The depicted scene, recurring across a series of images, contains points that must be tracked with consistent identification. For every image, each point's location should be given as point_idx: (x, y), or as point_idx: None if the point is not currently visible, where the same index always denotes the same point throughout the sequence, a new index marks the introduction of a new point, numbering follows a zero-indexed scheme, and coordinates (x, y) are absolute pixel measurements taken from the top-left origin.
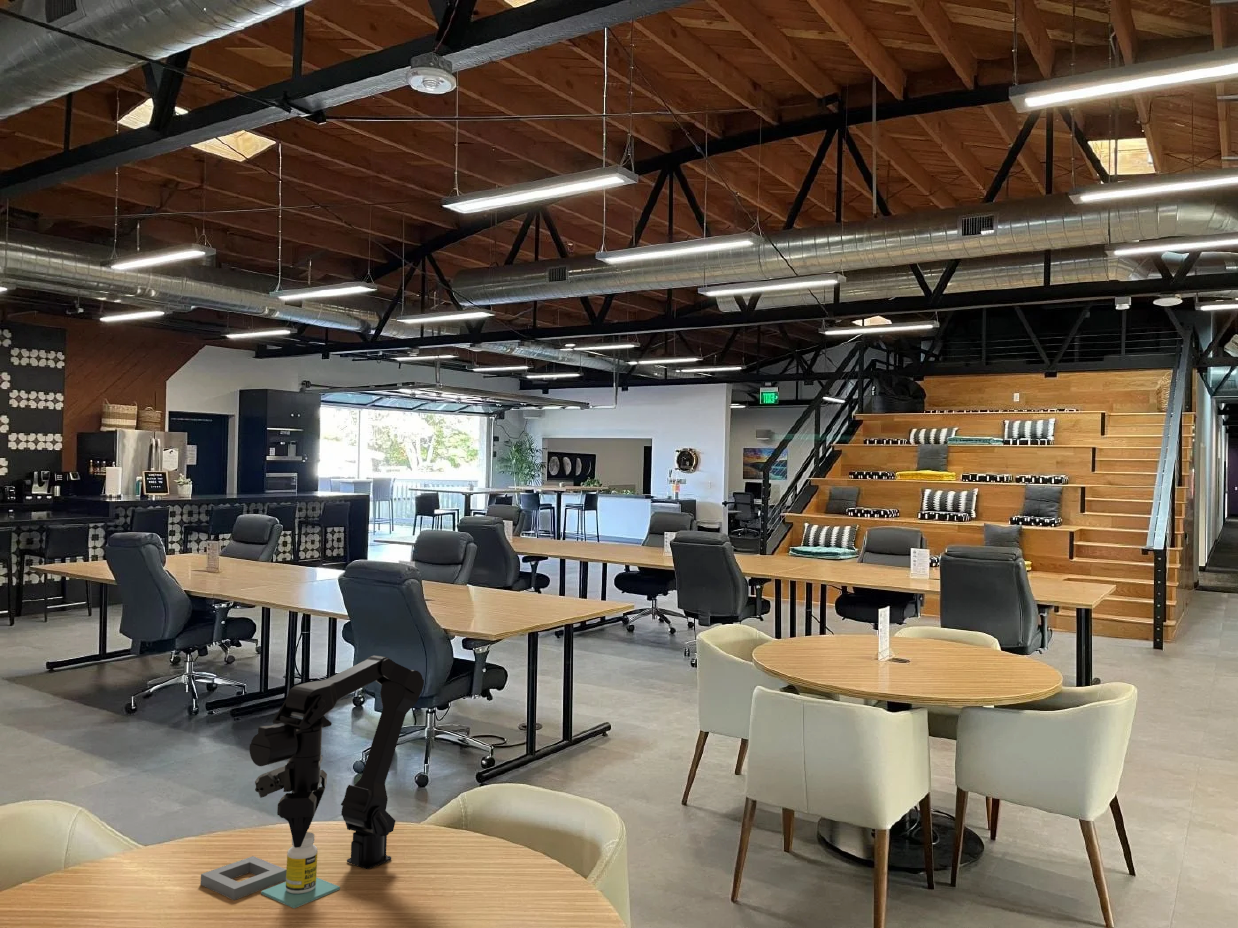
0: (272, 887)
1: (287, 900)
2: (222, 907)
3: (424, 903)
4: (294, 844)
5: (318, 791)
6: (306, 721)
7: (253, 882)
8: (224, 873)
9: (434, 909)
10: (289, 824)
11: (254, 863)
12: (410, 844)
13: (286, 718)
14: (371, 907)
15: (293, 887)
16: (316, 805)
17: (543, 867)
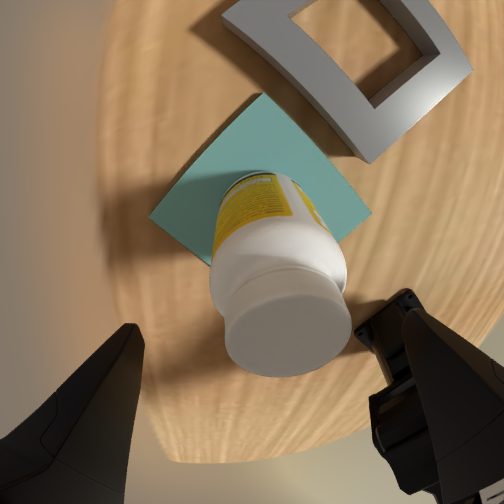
0: (288, 123)
1: (181, 190)
2: (174, 11)
3: (188, 400)
4: (116, 333)
5: (459, 498)
6: None
7: (278, 63)
8: None
9: (170, 405)
10: (17, 426)
11: (431, 65)
12: None
13: None
14: (167, 352)
15: (219, 207)
16: (437, 441)
17: (284, 452)
